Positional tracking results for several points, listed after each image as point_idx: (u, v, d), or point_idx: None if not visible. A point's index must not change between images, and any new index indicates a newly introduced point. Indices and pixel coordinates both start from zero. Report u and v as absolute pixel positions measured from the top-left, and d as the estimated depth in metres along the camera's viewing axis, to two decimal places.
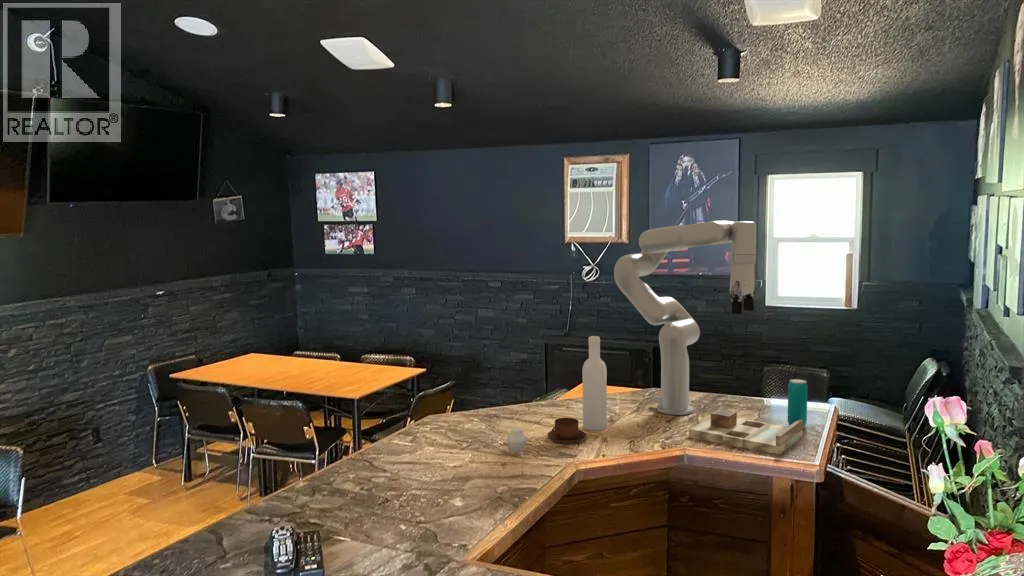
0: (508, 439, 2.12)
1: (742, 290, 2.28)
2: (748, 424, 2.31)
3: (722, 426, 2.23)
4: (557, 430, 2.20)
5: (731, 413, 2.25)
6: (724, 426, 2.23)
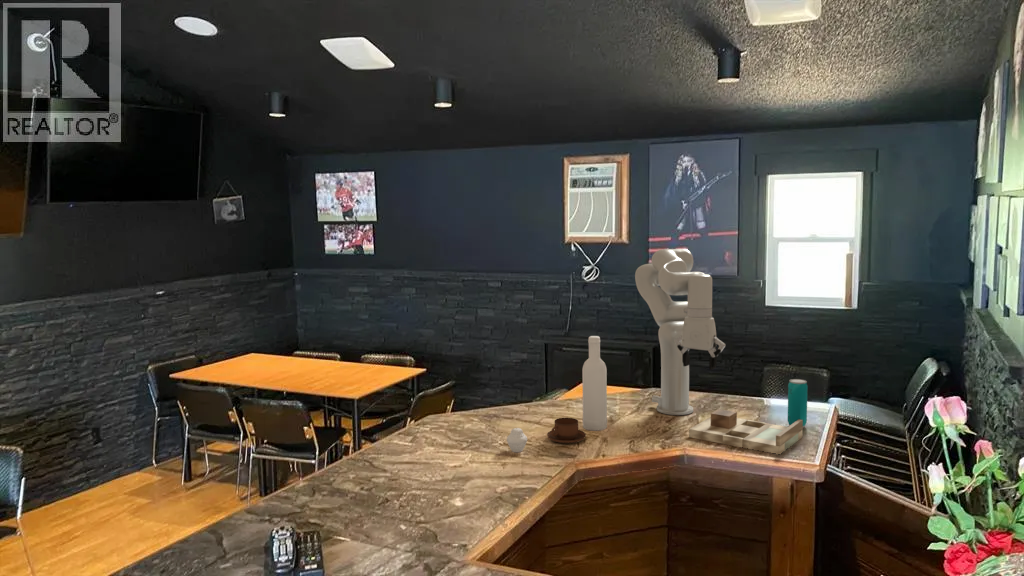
0: (508, 439, 2.12)
1: None
2: (748, 424, 2.31)
3: (722, 426, 2.23)
4: (557, 430, 2.21)
5: (731, 413, 2.25)
6: (724, 426, 2.23)
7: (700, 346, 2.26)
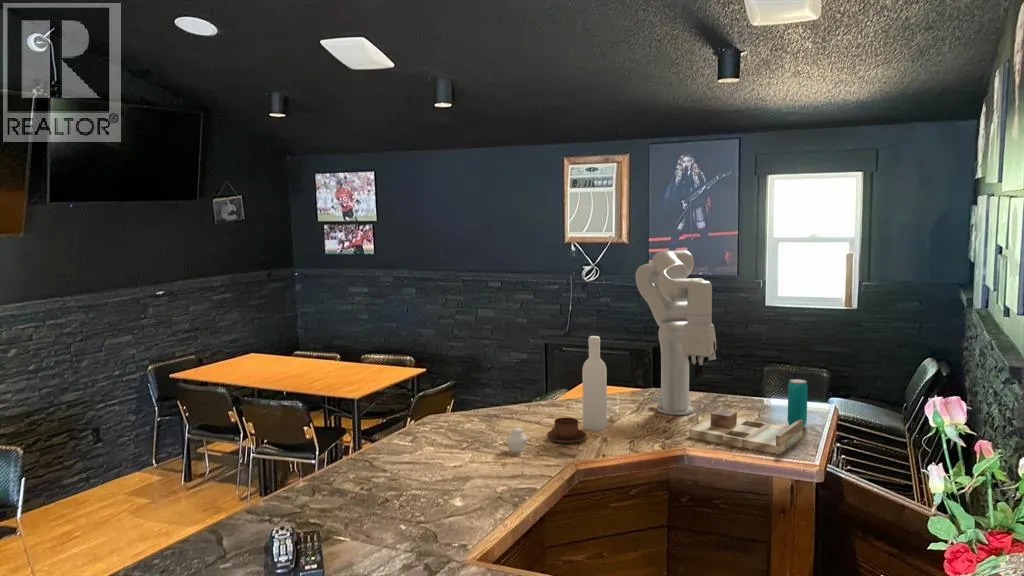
0: (508, 439, 2.12)
1: None
2: (748, 424, 2.31)
3: (722, 426, 2.23)
4: (557, 430, 2.21)
5: (731, 413, 2.25)
6: (724, 426, 2.23)
7: (700, 352, 2.26)
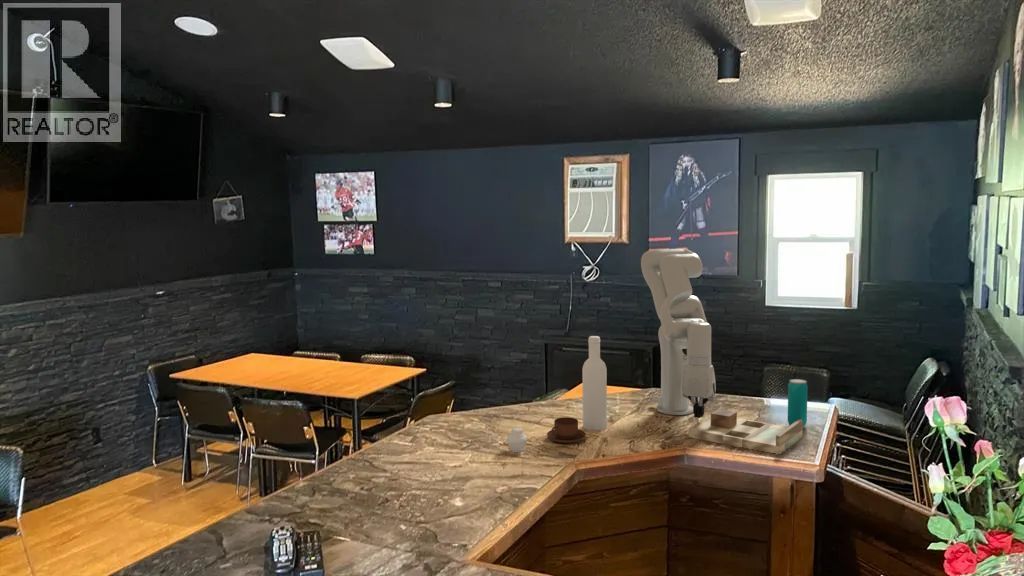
0: (508, 439, 2.12)
1: None
2: (748, 424, 2.31)
3: (722, 426, 2.23)
4: (557, 430, 2.21)
5: (731, 413, 2.25)
6: (724, 426, 2.23)
7: (699, 394, 2.27)
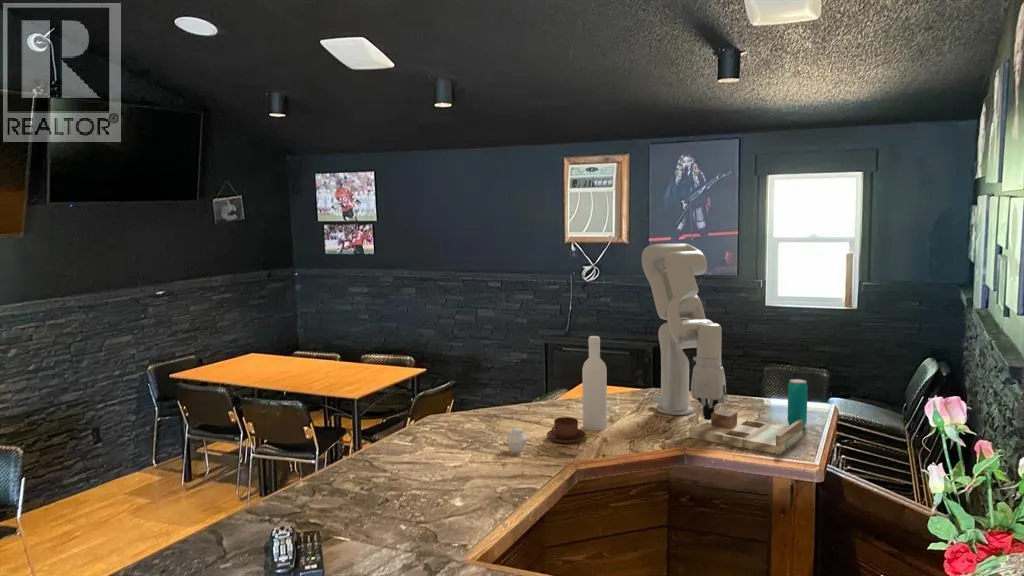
0: (508, 439, 2.12)
1: None
2: (748, 424, 2.31)
3: (722, 426, 2.23)
4: (557, 430, 2.21)
5: (732, 413, 2.25)
6: (724, 426, 2.23)
7: (709, 395, 2.25)
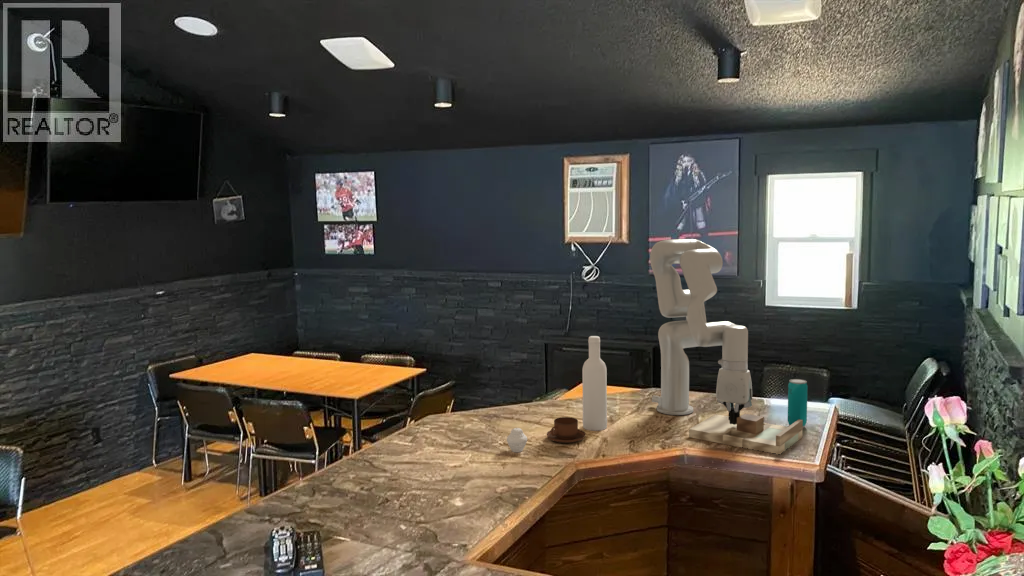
0: (508, 439, 2.12)
1: None
2: None
3: (748, 431, 2.18)
4: (556, 429, 2.21)
5: (758, 418, 2.19)
6: (751, 431, 2.18)
7: (735, 399, 2.20)
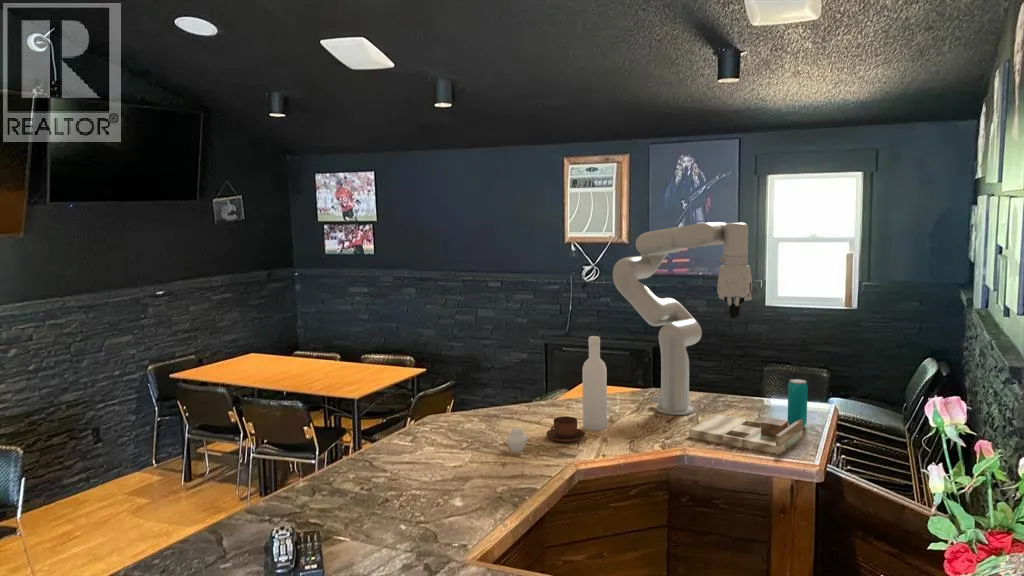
0: (508, 439, 2.12)
1: None
2: (748, 424, 2.31)
3: (773, 436, 2.14)
4: (556, 429, 2.22)
5: (783, 422, 2.15)
6: None
7: (736, 293, 2.30)
